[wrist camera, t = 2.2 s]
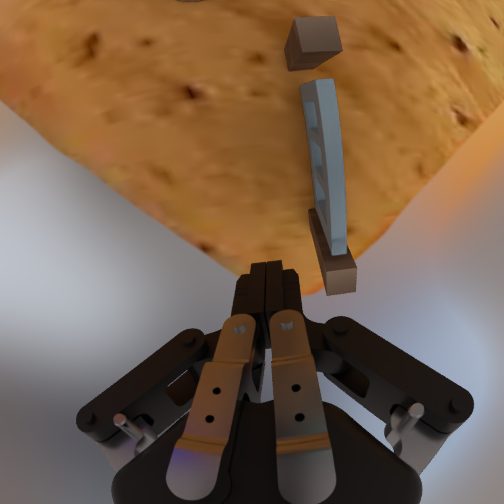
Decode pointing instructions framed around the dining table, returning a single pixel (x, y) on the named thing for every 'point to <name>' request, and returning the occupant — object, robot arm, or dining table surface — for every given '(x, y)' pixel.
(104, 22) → the dining table surface
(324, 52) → the gate posts
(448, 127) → the dining table surface
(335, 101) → the gate leaf
